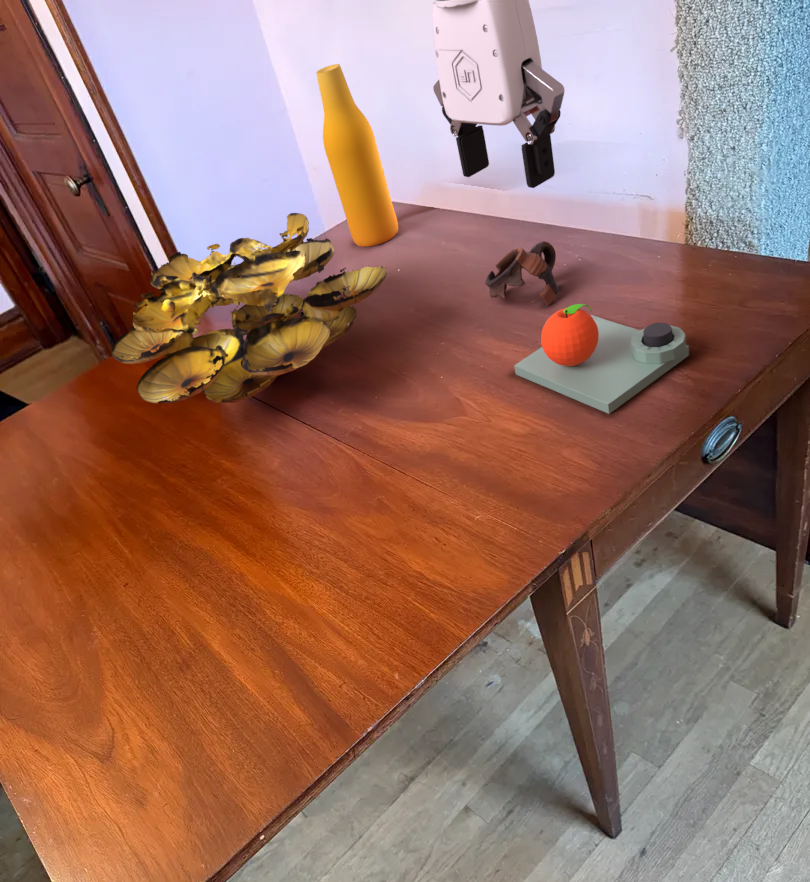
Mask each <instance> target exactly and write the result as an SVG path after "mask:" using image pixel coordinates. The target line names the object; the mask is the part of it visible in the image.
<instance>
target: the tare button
mask: <svg viewBox="0 0 810 882" xmlns="http://www.w3.org/2000/svg"><path fill="white" fill-rule="evenodd" d="M670 325H671V324H669V323H666V322H655V323H651V324H649V325H647V326H645V327H644V328H643V329H644V331H643V332H644V344H645V345H646V346H648V347H662V346H665V345H668V344H669V343H671V341H672V327H671V326H672V325H671V326H670Z"/></svg>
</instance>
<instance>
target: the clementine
mask: <svg viewBox="0 0 810 882" xmlns="http://www.w3.org/2000/svg"><path fill="white" fill-rule="evenodd" d="M584 306H585V307H587V309H589V311H590V312H591V313H592V312H593V311H592V308H591V306H590V305H588V304H584V303H575V304H572V305H569V306H568V307H564V308H561V309H559V310H557V311H555V312H554V313H553V314H552V315H551V316H549V317H548V319H547V320H546V322H545V324H544V325H543V327H542V331H541V336H540V337H541V338H540V339H541V340H540V342H541V343H540V345H541V347H543V350H544V352H545V354H546V355H547V357H548V358H549V359H550V360H552V361H553V362H555V363H556V364H559V365H563V366H575V365H578V364H580V363H582V362H584V361H586V360H587V359H588V358H589V357H590V356H591V355H592V354H593V352H594V351H595V349H596V346H597V344H598V337H599V332H598V327H597V324H596V323H595V321H594V319H593V318H592V316H593V315H592V314H589V313H588V312H587V311H586V310H584V309H581V308H583V307H584ZM591 315H592V316H591Z"/></svg>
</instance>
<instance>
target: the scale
mask: <svg viewBox="0 0 810 882" xmlns="http://www.w3.org/2000/svg"><path fill="white" fill-rule="evenodd" d="M590 315H591V316H592V318H593V319H594V321H595V323H596V324H597V327H598V332H599V337H598V344H597V346H596V349H595V351H594V352H593V354H592V355H591V356H590V357H589V358H588V359H587V360H586V361H584V362H582V363H580V364H578V365H575V366H563V365H559V364H556V363H555V362H553V361H552V360H550V359H549V358H548V357H547V355H546V354H545V352H544V350H543V347H542V346H540V347H539V348H538V349H537V350H535V351H533V352H532V353H530V354H529V355H527V356H526V357H525V358H523V359H522V360H520V361H518V362H517V363H515V364H514V366H513V368H514V372H515V373H514V374H515V375H516V376H518V377H521V378H523V379H525V380H527V381H530V382H532V383H535V384H537V385H539V386H542V387H544V388H547V389H549V390H551V391H554V392H555V393H559V394H561V395H563V396H565V397H567V398H570V399H572V400H575V401H578V402H580V403H582V404H584V405H586V406H589V407H591V408H594V409H596V410H599V411H601V412H603V413H606V414H608V415H610V414H611V413H613V412H614V411H616V410H617V409H618V408H619V407H621V406H622V405H624V404H625V403H627V402H628V401H629V400H631V398H633V397H634V396H636V395H637V394H639V393H640V392H641V391H642V390H645V388H647V387H648V386H649V385H651V384H652V383H653V382H655V381H657V380H658V379H659V378H660V377H662V376H663V375H664V374H666V373H667V372H668V371H670V370H671V369H672V368H674V367H676V366H677V365H678V364H679V363H681V362H682V361H683V360H685V359H686V358H687V357H689V356H690V345H689V344H687V342H686V341H687V340H686V339H687V338H686V333H685V332H684V331H683V330H682V329H681V327H678V326H674V325H671V324H669V325H670V326H671V327H672V341H671V343H669V344H668V345H665V346H662V347H648V346H646V345H645V344H644V332H643V331H644V329H645V328H642V329H637V328H633V327H631V326H627V325H625V324H621V323H617V322H615V321H612V320H608V319H605V318H602V317H599V316H595V315H592V314H590Z"/></svg>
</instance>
